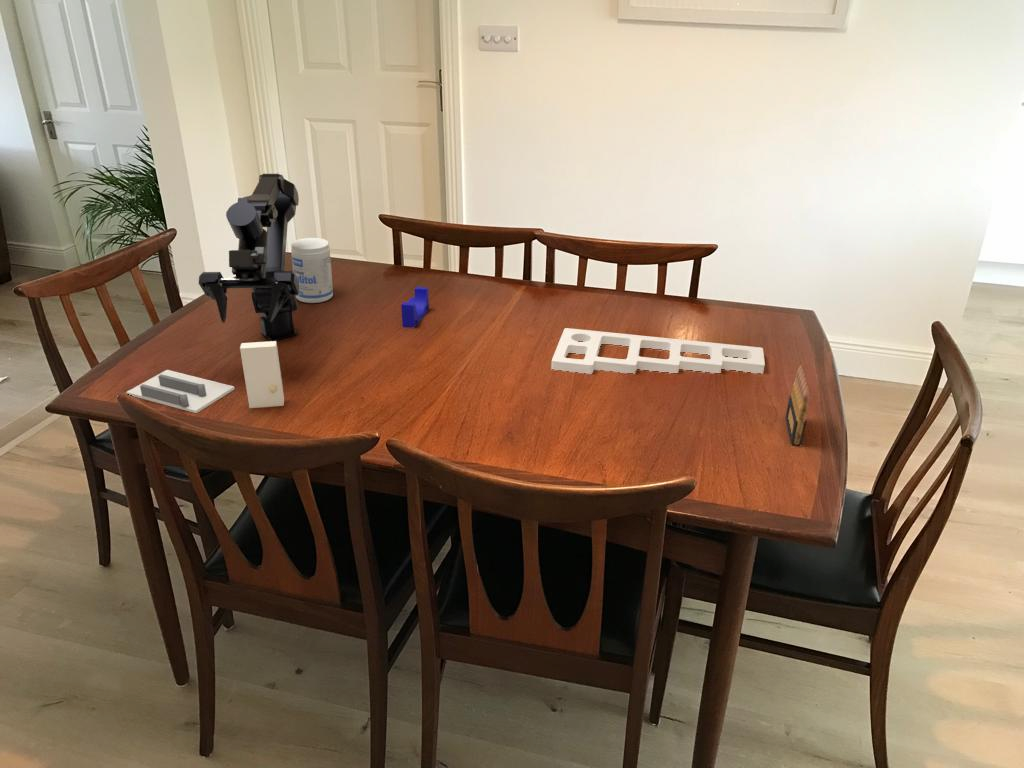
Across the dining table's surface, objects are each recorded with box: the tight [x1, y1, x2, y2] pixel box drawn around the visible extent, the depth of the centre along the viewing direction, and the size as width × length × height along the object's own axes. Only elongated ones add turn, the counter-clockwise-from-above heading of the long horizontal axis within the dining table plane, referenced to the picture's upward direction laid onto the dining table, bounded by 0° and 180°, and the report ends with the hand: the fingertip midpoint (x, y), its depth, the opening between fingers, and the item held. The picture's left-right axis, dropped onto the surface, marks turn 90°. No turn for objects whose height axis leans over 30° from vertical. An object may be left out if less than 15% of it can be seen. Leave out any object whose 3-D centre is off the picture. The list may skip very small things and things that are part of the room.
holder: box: [550, 327, 766, 375], centre depth 180 cm, size 45×18×3 cm, turn 77°
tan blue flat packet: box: [785, 364, 810, 446], centre depth 152 cm, size 11×2×12 cm, turn 169°
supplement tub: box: [290, 237, 334, 304], centre depth 208 cm, size 10×10×15 cm
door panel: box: [239, 340, 285, 409], centre depth 158 cm, size 4×6×13 cm, turn 100°
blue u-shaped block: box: [401, 286, 430, 329], centre depth 199 cm, size 12×4×6 cm, turn 169°
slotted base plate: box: [125, 369, 235, 414], centre depth 165 cm, size 11×18×3 cm, turn 66°
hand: (246, 321), depth 162 cm, fingers open, 9 cm apart
